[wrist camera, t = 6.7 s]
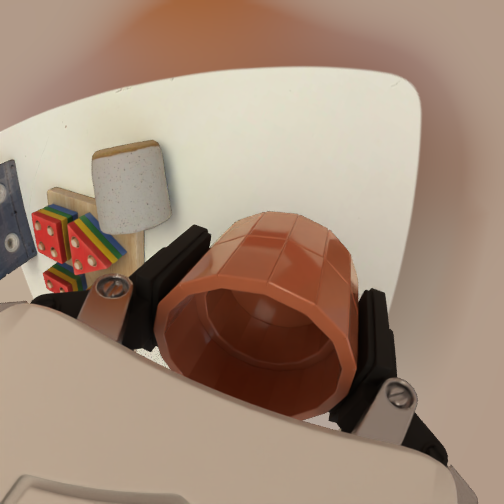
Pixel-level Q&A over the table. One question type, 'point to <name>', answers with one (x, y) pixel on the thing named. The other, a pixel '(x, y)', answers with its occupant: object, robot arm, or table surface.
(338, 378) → the terracotta pot
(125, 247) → the shape sorter
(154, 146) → the ceramic mug
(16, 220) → the vhs cassette tape
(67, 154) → the table surface
